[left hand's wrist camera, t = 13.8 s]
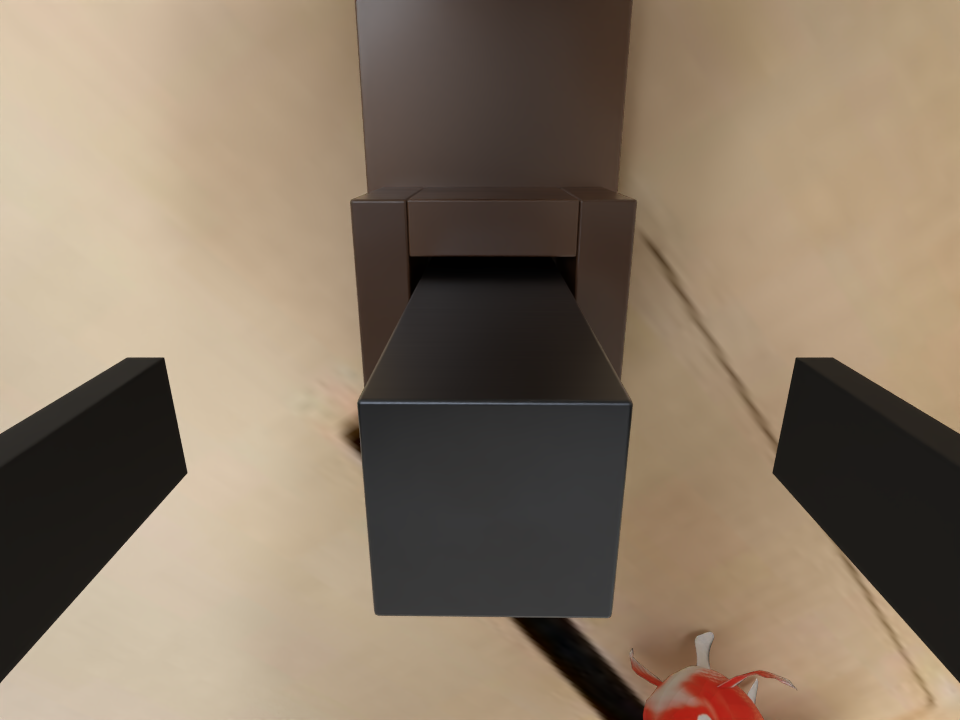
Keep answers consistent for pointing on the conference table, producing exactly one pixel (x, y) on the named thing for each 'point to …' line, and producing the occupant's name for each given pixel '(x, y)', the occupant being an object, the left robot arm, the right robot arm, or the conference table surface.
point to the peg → (494, 449)
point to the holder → (493, 150)
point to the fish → (701, 691)
